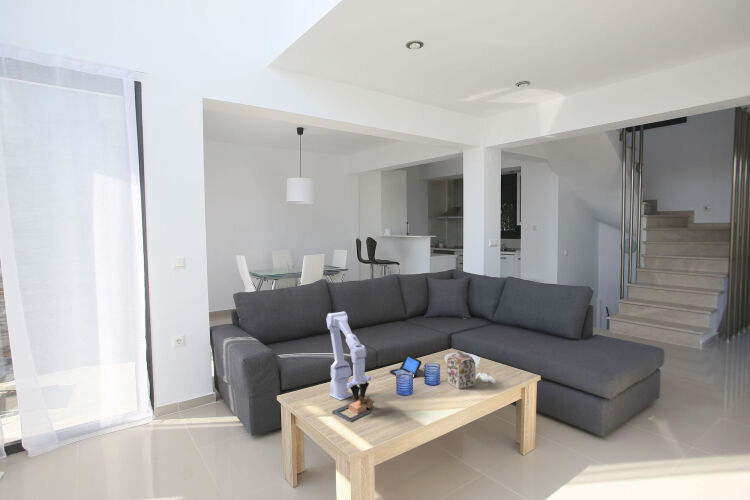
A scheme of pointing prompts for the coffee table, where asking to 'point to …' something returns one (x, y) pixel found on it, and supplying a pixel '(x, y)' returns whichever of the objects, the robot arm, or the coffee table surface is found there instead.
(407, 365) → the handheld game console
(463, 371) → the decorative jar
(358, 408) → the tile
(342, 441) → the coffee table surface
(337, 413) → the frame
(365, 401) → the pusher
